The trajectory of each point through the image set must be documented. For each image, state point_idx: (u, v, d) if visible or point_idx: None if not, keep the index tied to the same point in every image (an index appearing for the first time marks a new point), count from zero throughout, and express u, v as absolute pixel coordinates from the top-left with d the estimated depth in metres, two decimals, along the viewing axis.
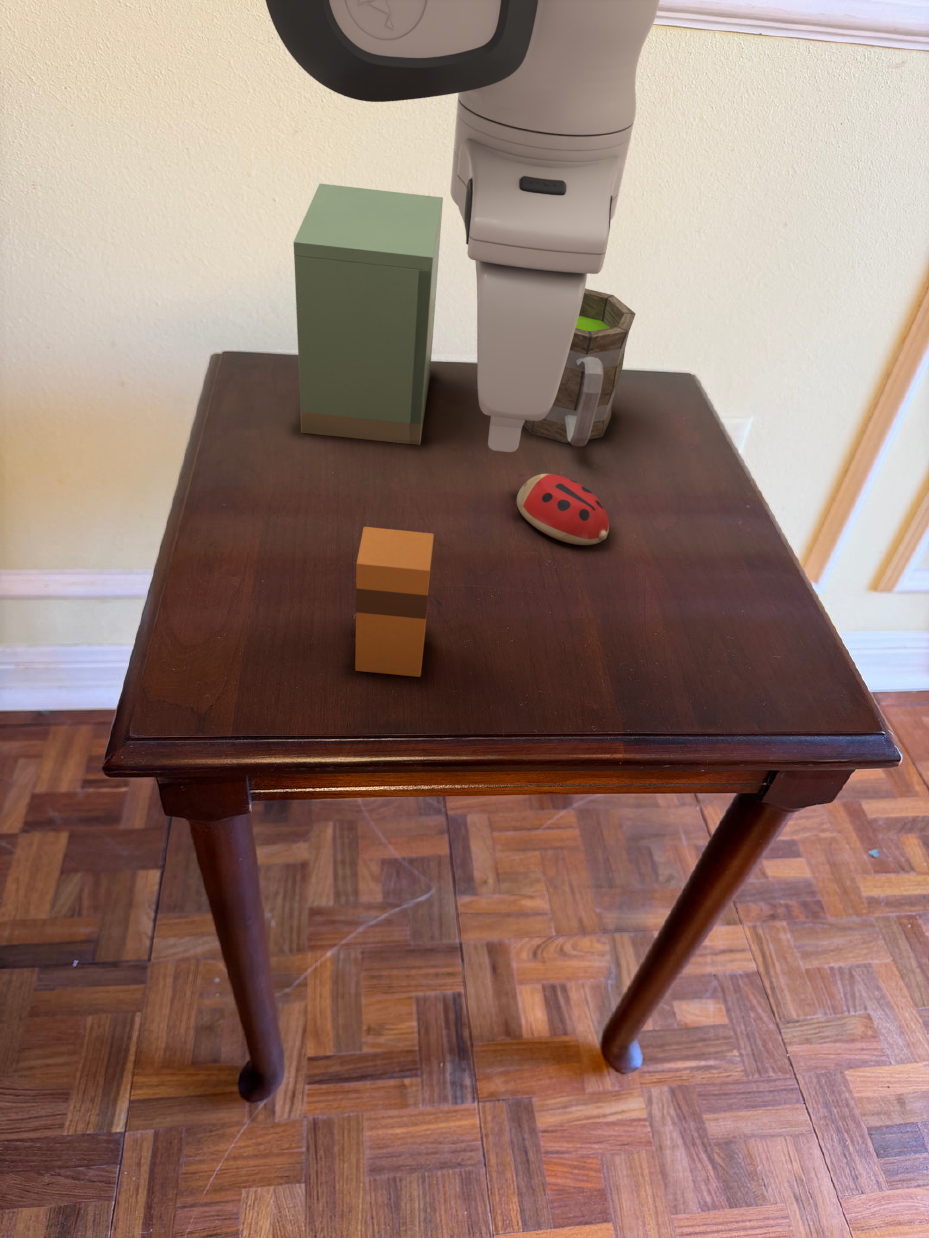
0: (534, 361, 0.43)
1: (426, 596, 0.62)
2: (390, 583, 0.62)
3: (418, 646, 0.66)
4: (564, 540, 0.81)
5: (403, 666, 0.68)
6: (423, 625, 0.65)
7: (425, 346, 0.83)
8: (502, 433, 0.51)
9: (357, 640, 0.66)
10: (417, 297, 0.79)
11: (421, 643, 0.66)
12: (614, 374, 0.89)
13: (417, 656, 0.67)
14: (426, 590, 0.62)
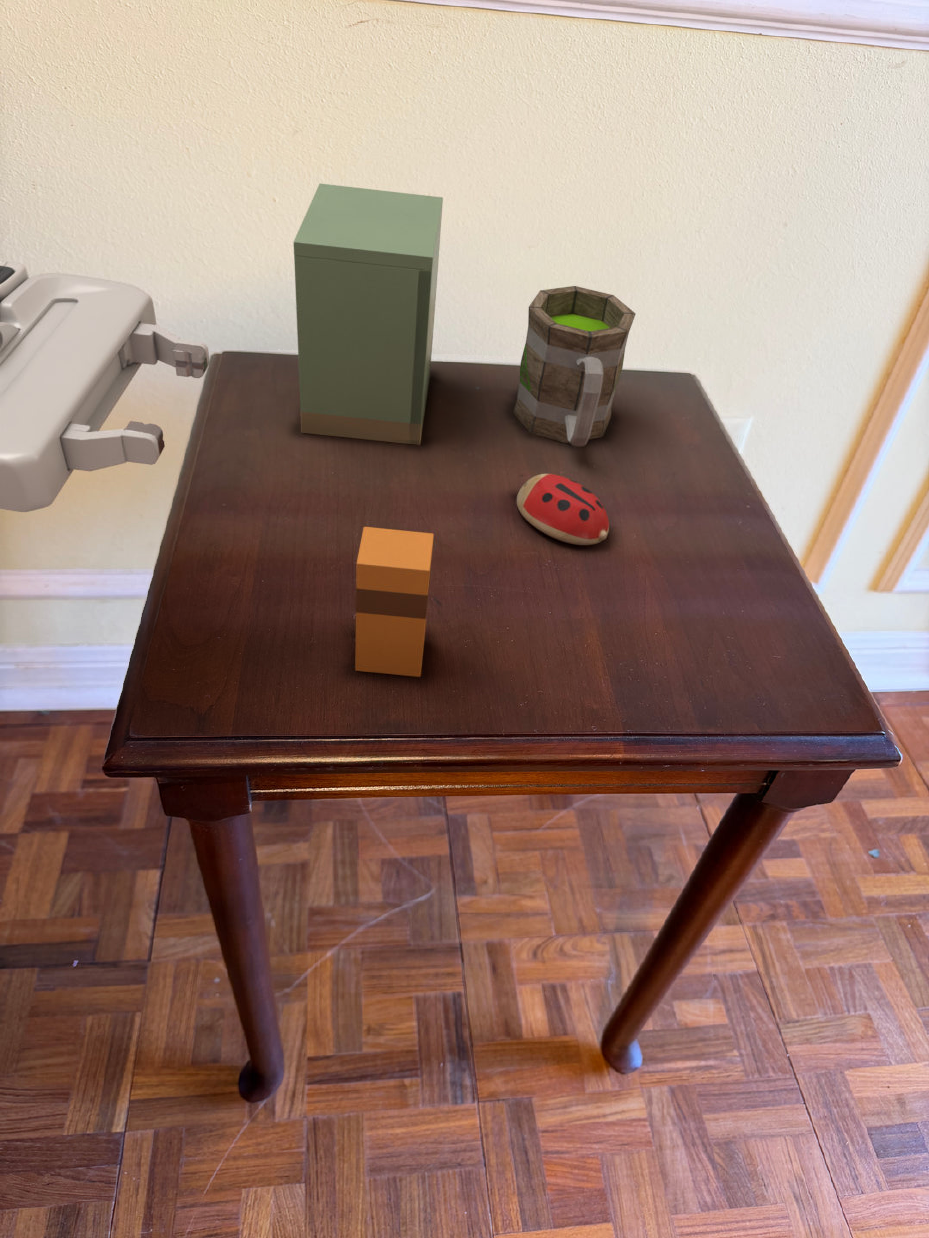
0: None
1: (426, 596, 0.62)
2: (390, 583, 0.62)
3: (418, 646, 0.66)
4: (564, 540, 0.81)
5: (403, 666, 0.68)
6: (423, 625, 0.65)
7: (425, 346, 0.83)
8: None
9: (357, 640, 0.66)
10: (417, 297, 0.79)
11: (421, 643, 0.66)
12: (614, 374, 0.89)
13: (417, 656, 0.67)
14: (426, 590, 0.62)
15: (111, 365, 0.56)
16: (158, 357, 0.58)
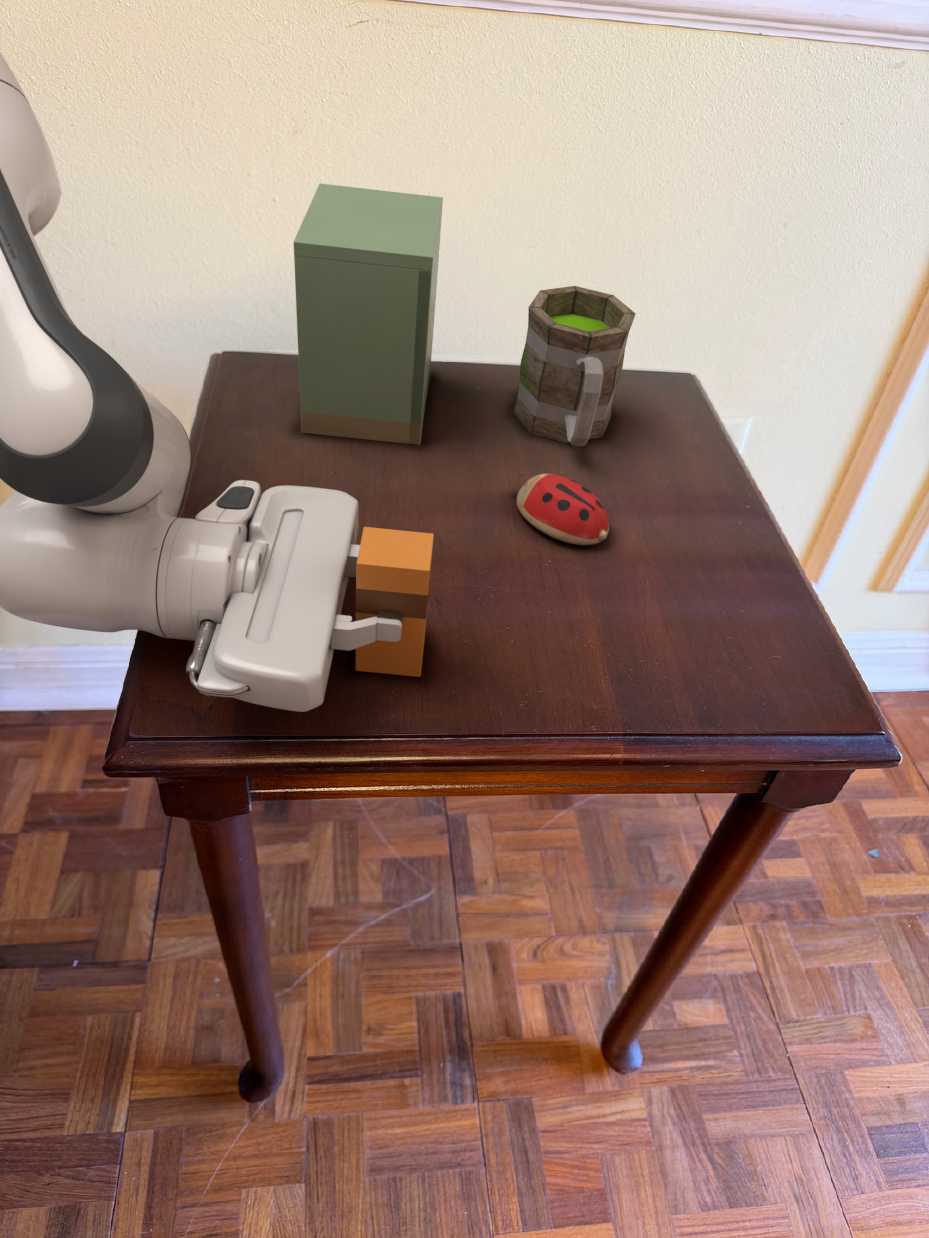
0: None
1: (426, 596, 0.62)
2: (390, 583, 0.62)
3: (418, 646, 0.66)
4: (564, 540, 0.81)
5: (403, 666, 0.68)
6: (423, 625, 0.65)
7: (425, 346, 0.83)
8: None
9: None
10: (417, 297, 0.79)
11: (421, 643, 0.66)
12: (614, 374, 0.89)
13: (417, 656, 0.67)
14: (426, 590, 0.62)
15: None
16: None
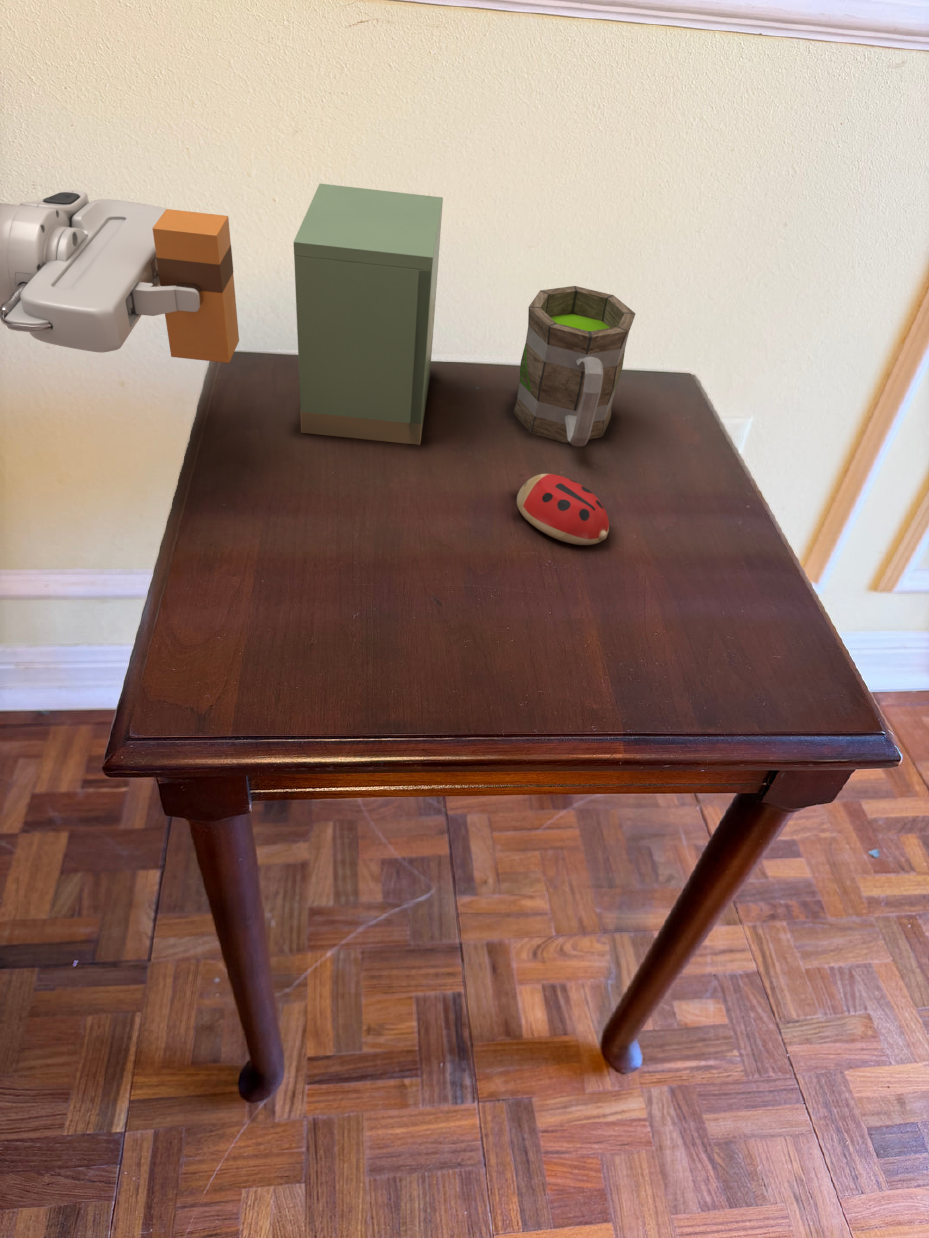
0: None
1: (218, 266, 0.71)
2: (185, 251, 0.70)
3: (221, 326, 0.75)
4: (564, 540, 0.81)
5: (212, 350, 0.76)
6: (221, 300, 0.73)
7: (425, 346, 0.83)
8: None
9: (167, 320, 0.75)
10: (417, 297, 0.79)
11: (223, 322, 0.75)
12: (614, 374, 0.89)
13: (222, 338, 0.76)
14: (217, 259, 0.71)
15: None
16: None
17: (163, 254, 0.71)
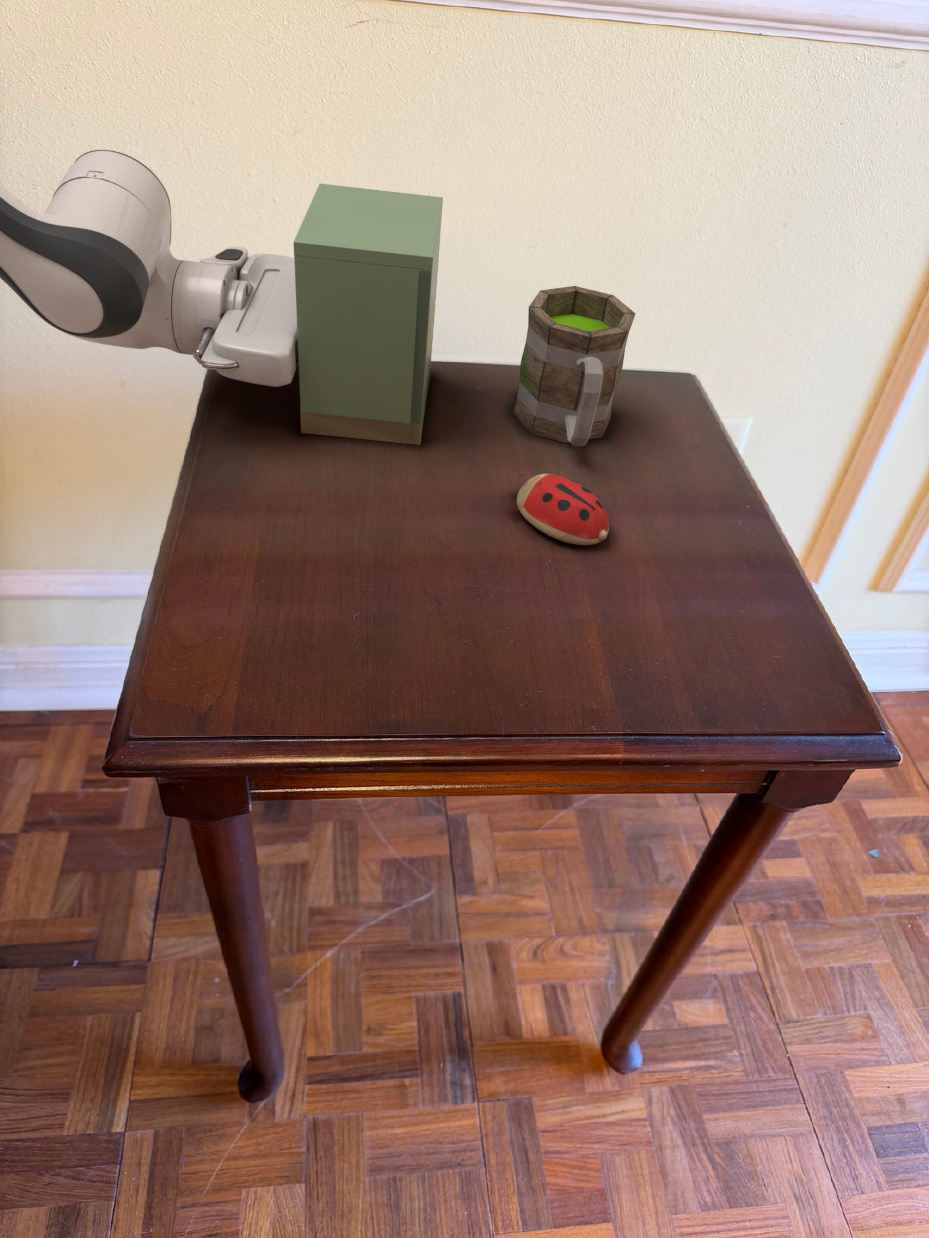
0: None
1: None
2: None
3: None
4: (564, 540, 0.81)
5: None
6: None
7: (425, 346, 0.83)
8: None
9: None
10: (417, 297, 0.79)
11: None
12: (614, 374, 0.89)
13: None
14: None
15: None
16: None
17: None
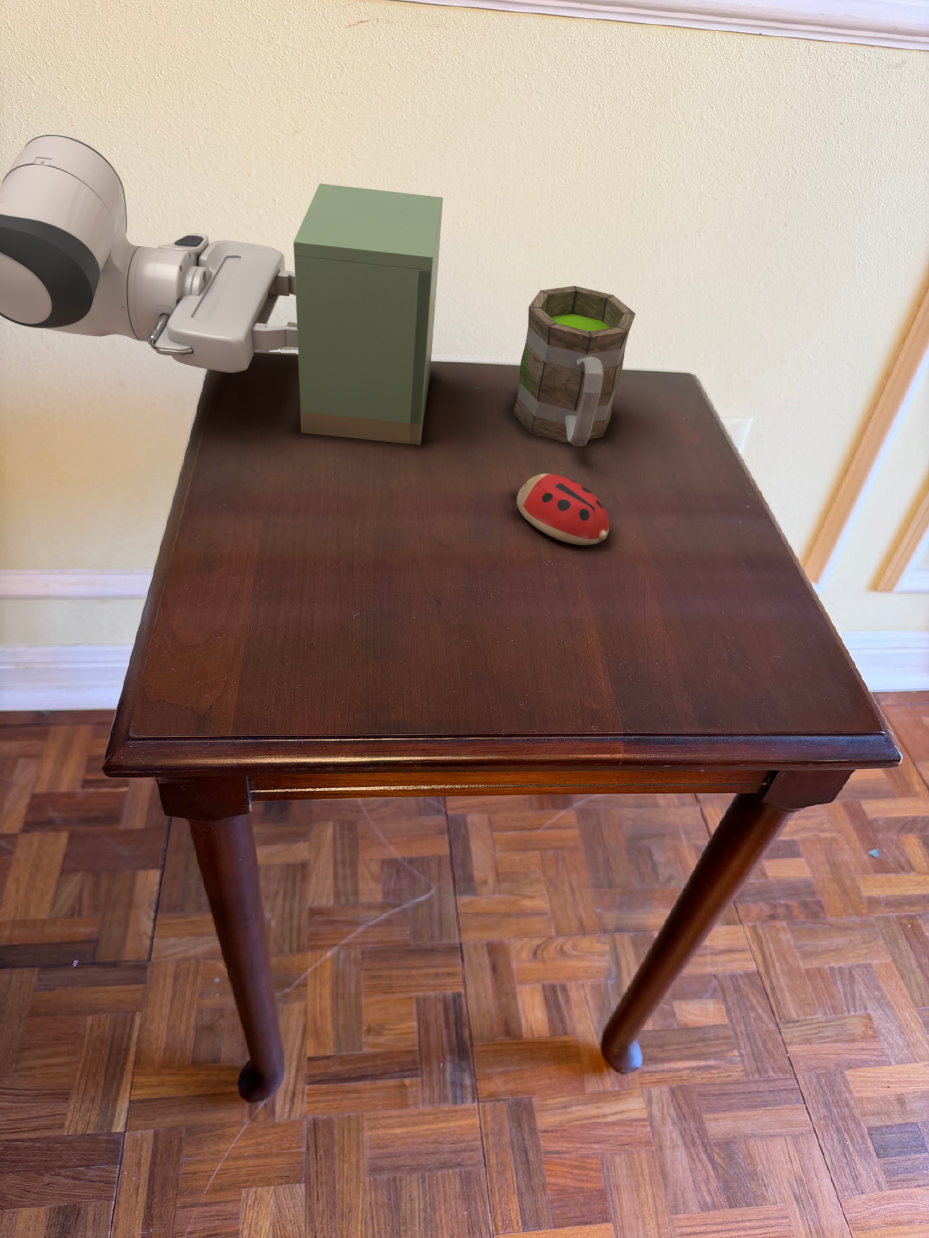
0: None
1: None
2: None
3: None
4: (564, 540, 0.81)
5: None
6: None
7: (425, 346, 0.83)
8: None
9: None
10: (417, 297, 0.79)
11: None
12: (614, 374, 0.89)
13: None
14: None
15: None
16: (290, 291, 0.93)
17: None
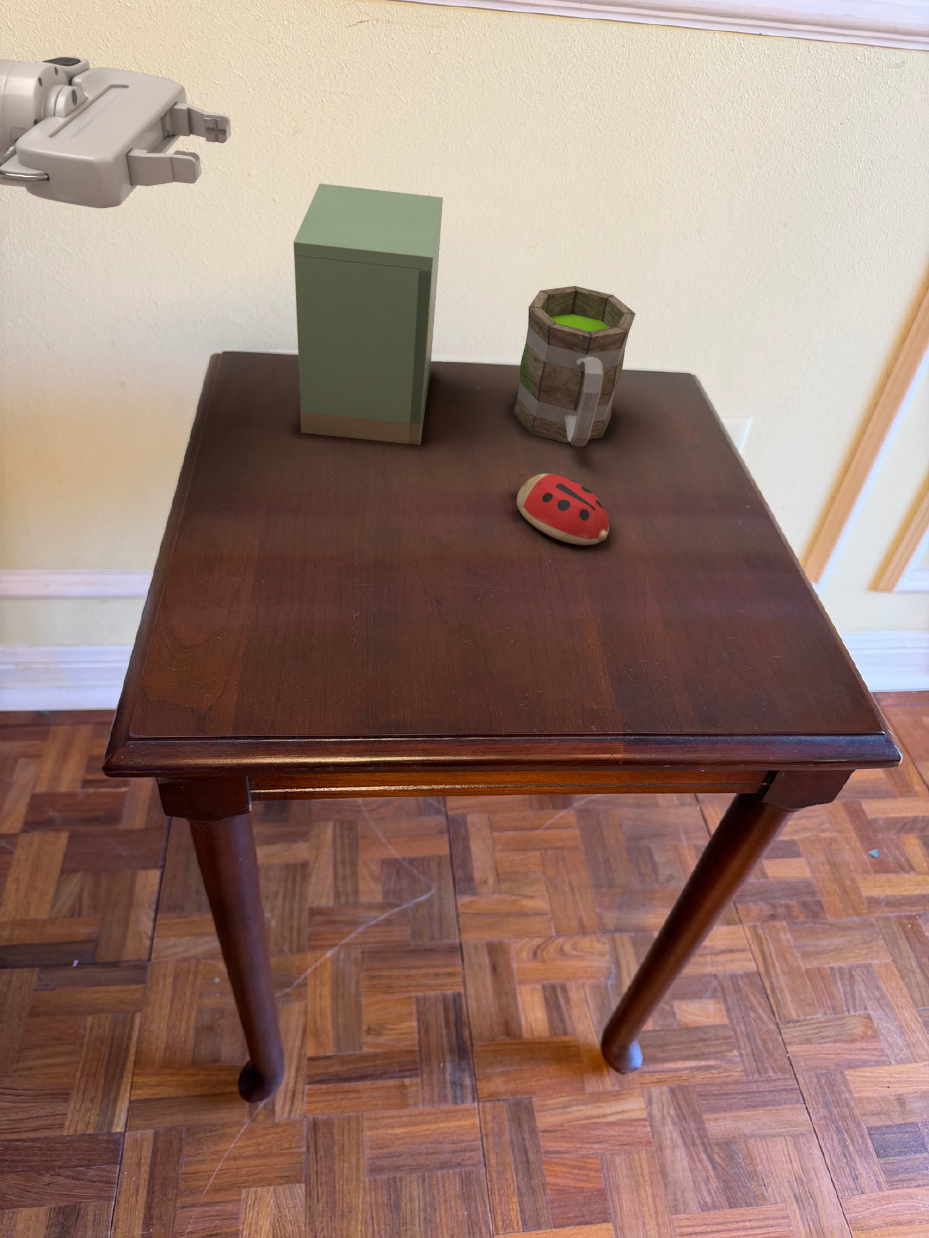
0: None
1: None
2: None
3: None
4: (564, 540, 0.81)
5: None
6: None
7: (425, 346, 0.83)
8: None
9: None
10: (417, 297, 0.79)
11: None
12: (614, 374, 0.89)
13: None
14: None
15: (156, 129, 0.73)
16: (191, 131, 0.75)
17: None
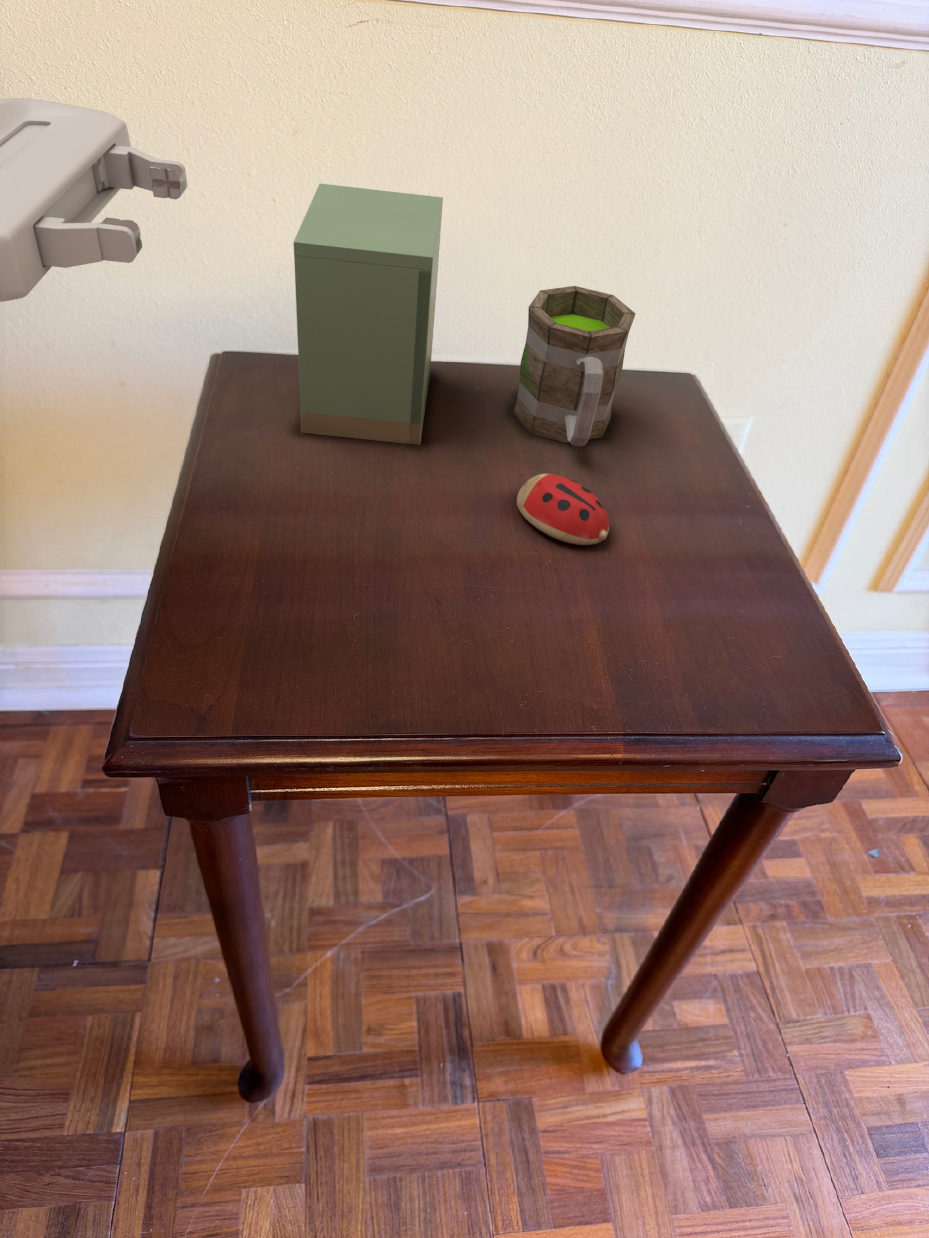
0: None
1: None
2: None
3: None
4: (564, 540, 0.81)
5: None
6: None
7: (425, 346, 0.83)
8: None
9: None
10: (417, 297, 0.79)
11: None
12: (614, 374, 0.89)
13: None
14: None
15: (85, 183, 0.54)
16: (135, 182, 0.57)
17: None
